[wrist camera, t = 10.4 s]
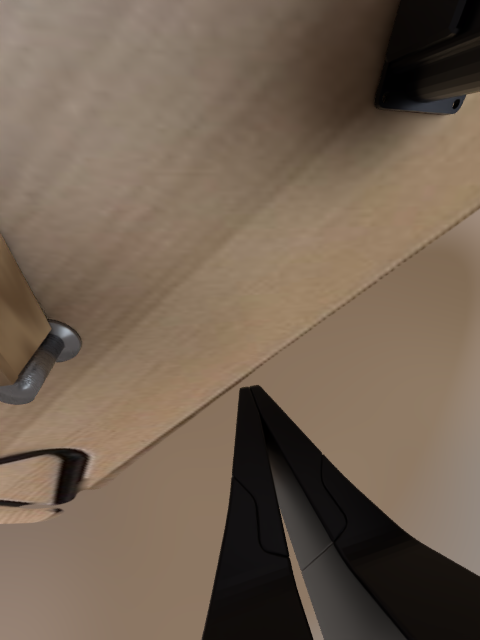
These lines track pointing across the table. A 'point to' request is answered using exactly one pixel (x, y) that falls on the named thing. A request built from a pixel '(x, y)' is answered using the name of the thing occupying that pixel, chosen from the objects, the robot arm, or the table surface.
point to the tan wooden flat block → (17, 319)
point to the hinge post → (42, 363)
